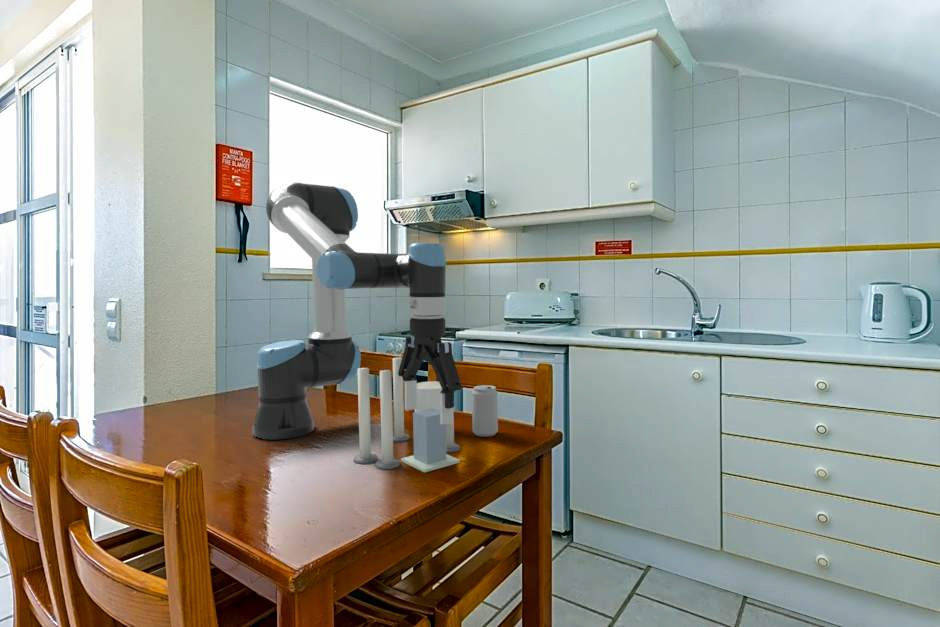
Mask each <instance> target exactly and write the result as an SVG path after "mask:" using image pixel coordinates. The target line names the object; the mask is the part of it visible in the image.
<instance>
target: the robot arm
mask: <svg viewBox="0 0 940 627" xmlns="http://www.w3.org/2000/svg"><path fill="white" fill-rule="evenodd" d="M266 200H267V201H266V204H265V212H266V215H267V218H268V220H269V221H270V223H271V225H273V226H274V227H275V228H276V229H277V230H278V231H279V232H282V233H285V234H288V236H289V237H290V239H292V240H293V241H294V242H295V243H296V244H297V245H298V246H299V247H300V249H302V250H303V251H304V252H305V253H306V254H307V255H308V256H309V257H310V258H311V267H312V268H311V271H312V272H311V273H312V303H313V304H312V305H313V306H312V307H313V308H312V309H313V310H312V312H313V314H312V315H313V331H312V332H311V333H310V334H309V335H308V336H307V340H308V344H306V343H305V342H304V340H303V339H293V340H283V341H277V342H274V343H269V344H267V345H264V346H262V347H261V348H260V349H259V350H258V352H257V360H256V361H257V364H256V368H257V384H258V385H257V387H258V391H257V392H258V406H257V410H256V414H255V417H254V423H253V424H252V436H253V435H254V436H255V437H254V436H253V437H254V438H256V437H258V438H257V439H259V438H262V439H261V440H267V439H268V440H269V441H273V440H287V439H292V438H298V437H302V436H304V435H308V434H310V433H312V432H313V431H314V430H315V420H314V418H313V417H312V412H311V410H310V409H311V408H310V407H309V404H308V400H307V389H310V388H317V387H324V386H330V385H331V386H332V385H340V384H342V383H347V382H351V381H352V380H353V379H355V378H356V376H358V370H357V369H358V368H361V361H362V356H361V350H360V346H359V344H358V343H357V342H356V341H355V340H352V339H353V338H352V337H353V336H352V334H351V333H350V332H349V331H348V330H347V322H346V321H347V316H346V315H347V314H346V290H348V289H349V290H350V289H352V290H354V289H355V290H356V289H400V288H403V289H406V288H407V289H409V303H408V304H409V315H410V316H412V317H410V319H409V334H410V336H406V338H405V343H404V344H405V345H404V346H405V347H404V350H403V354H402V357H401V358H402V360H401V364H400V368H399V371H398V375H399V376H402V378H403V393H404V411H406V412H408V411H412V410H415V409H417V383H418V381H417V376H416V375H417V374H418V373H419V370H420V368H421V366H422V364H423V363H424V361H425V362H426V363H428V365H430V366H432V368H433V371H434V374H435V375H436V378H437V380H438V381H439V383H440V385H441V387H442V391H441V392H440V424H442V425H444V424H448V423H453V408H454V407H455V392H456V391H459V390H462V384H461V379H460V376H459V374H458V370H457V366H456V362H455V360H454V355H453V348H452V347H453V345H452V343H451V342H450V341H448V342H442V338H443V336H445V335H446V319H445V317H443V316H445V315H446V312H447V310H446V309H447V308H446V304H447V303H446V265H447V262H446V251H445V250H446V249H445V246H444V245H443V244H442V243H438V242H414V243H411V244H410V245H409V249H408V253H385V252H384V253H383V252H382V253H381V252H376V253H375V252H374V253H373V252H357V251H356V250H354V249H353V248H352V247H350V246H349V245H348V244H347V243H346V241H347V240H349V239H350V232H352V231H353V230H355V228H356V226H357V222H358V221H359V212H358V211H359V210H358V205H357V202H356V198H355V197H354V196H353V195H352V193H351V192H350V191H349V190H348V189H344V188H340V187H336V186H333V185H331V186H330V185H321V184H313V183H311V184H309V183H303V182H287V183H284V184H281V185H280V186H278V187H276V188H274V189H273V191H272V192H270V194H269V195H268V197H267V199H266ZM454 409H455V408H454Z"/></svg>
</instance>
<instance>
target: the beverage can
mask: <svg viewBox="0 0 940 627" xmlns="http://www.w3.org/2000/svg"><path fill="white" fill-rule="evenodd" d="M472 389H473V390H472V391H471V411H472V412H471V413H472V416H471V419H472V420H471V421H472V433H473V434H474V435H475V436H477V437H482V438H483V437H484V438H486V437H487V438H488V437H493V436H495V435H496V434H497V433H498V431H499V424H498V423H499V420H498V416H499V415H498V414H499V413H498V391H497V390H496V389H497V387H496V386H495V385H490V384H489V385H488V384H487V385H486V384H481V385H480V384H479V385H476V386H473V388H472Z"/></svg>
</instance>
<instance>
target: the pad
mask: <svg viewBox="0 0 940 627" xmlns="http://www.w3.org/2000/svg"><path fill="white" fill-rule="evenodd" d="M446 457H447V459H446V460H442V461H439V462H435V463H432V464H428V465H427V464H424V463H422V462H420V461H418V460H416V459H414V454H413V455H409V456H406V457H402V458H400V462H402V463H404V464H405V465H408V466H410V467H412V468H415V469H417V470H418V471H421V472H422V473H428V472H432V471H434V470H438V469H441V468H445V467H449V466H452V465H455V464H456V465H457V464H460V463H461V462H460V461H461V460H460V459H459V458H457V457H454V456H451V455H449V454H448V453H446Z"/></svg>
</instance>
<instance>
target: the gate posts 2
mask: <svg viewBox="0 0 940 627" xmlns="http://www.w3.org/2000/svg"><path fill="white" fill-rule="evenodd" d="M392 385H393V378H392V370H389V369H384V370H379V394H380V395H379V397H380V398H379V400H380V402H379V404H380V437H381V443H380V445H381V459H379V460H377V461H375V468H376V469H378V470H384V471H385V470H394V469H397V468H399V466H400V465H401V460H399V459H398V458H394V442H393V434H394V430H393V428H394V420H393V390H392V389H393V386H392ZM454 409H455V408H453V423H448V424H446V454H452V453H458V451H460V450H461V446H460V444H457V443H455V420H454V419H455V417H454V415H455V414H454V412H455V410H454Z"/></svg>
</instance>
